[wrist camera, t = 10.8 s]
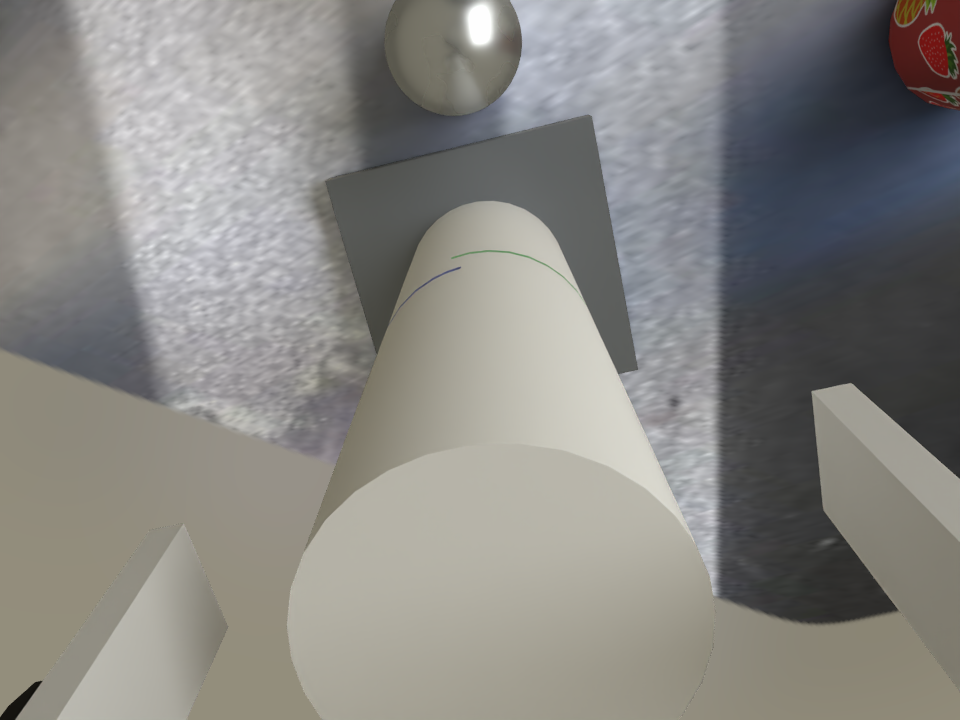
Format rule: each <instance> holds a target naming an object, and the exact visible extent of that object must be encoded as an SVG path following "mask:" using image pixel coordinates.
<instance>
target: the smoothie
mask: <svg viewBox="0 0 960 720" xmlns="http://www.w3.org/2000/svg"><path fill="white" fill-rule="evenodd" d="M889 45H890V50H891V54H892V58H893V62H894V66H895V69H896V71H897V73H898V74H899V76H900V77H901V79H902V80H903V82H904V84H905V85H906V87H907V88H908V89H909V90H910V91H911V92H913V93H914V94H916V95H917V96H918V97H920V98H921V99H923V100H924V101H925V102H927V103H930V104H934V105H937V106H941V107H945V108H949V109H955V110H960V0H897V3H896V6H895V8H894V11H893V14H892V16H891V19H890V30H889Z"/></svg>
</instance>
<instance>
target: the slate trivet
mask: <svg viewBox="0 0 960 720" xmlns="http://www.w3.org/2000/svg"><path fill="white" fill-rule="evenodd" d="M325 182H326V185H327V189H328V192H329V195H330V199H331V202H332V205H333V209H334V212H335V216H336V219H337V222H338V226H339V229H340V232H341V236H342V239H343V242H344V246H345V249H346V252H347V256H348V259H349V263H350V266H351V269H352V273H353V276H354V279H355V283H356V286H357V289H358V293H359V296H360V299H361V303H362V306H363V310H364V313H365V316H366V320H367V323H368V326H369V330H370V333H371V336H372V340H373V343H374V346H375V350H376V353H377V354H378V351H379V349H380V346H381V343H382V341H383V338H384V335H385V333H386V330H387V328H388V325H389V322H390V319H391V317H392V314H393V311H394V308H395V306H396V303H397V300H398V297H399V294H400V292H401V289H402V286H403V283H404V281H405V278H406V276H407V273H408V270H409V268H410V265H411V263H412V260H413V257H414V255H415V252H416V250H417V247H418V244H419V243H420V241H421V239H422V238H423V236H424V235H425V233H426V231H427V230H428V229H429V228H430V227H431V226H432V225H433V224H434V223H435V222H436V221H437V220H438V219H439V218H440V217H442V216H443V215H445V214H446V213H447V212H449V211H451V210H453V209H455V208H457V207H459V206H462V205H465V204H469V203H473V202H477V201H498V202H504V203H510V204H512V205H515V206H517V207H520V208H523V209H525V210H527V211H528V212H530V213H531V214H533V215H534V216H536V217H537V218H539V219H540V220H541V221H542V222H543V223H544V224H545V225H546V226H547V227H548V228H549V230H550V231H551V233H552V234H553V236H554V237H555V239H556V240H557V242H558V244H559V246H560V249H561V251H562V253H563V255H564V257H565V259H566V262H567V264H568V266H569V268H570V270H571V273H572V275H573V277H574V279H575V281H576V283H577V286H578V288H579V290H580V292H581V294H582V297H583V299H584V301H585V303H586V305H587V308H588V310H589V312H590V314H591V316H592V318H593V321H594V323H595V325H596V327H597V329H598V332H599V334H600V336H601V338H602V340H603V343H604V345H605V347H606V349H607V351H608V353H609V356H610V358H611V360H612V362H613V364H614V367H615V369H616V371H617V373H618V374H620V373H625V372H629V371H634V370H638V367H637V362H636V356H635V351H634V345H633V340H632V334H631V329H630V323H629V318H628V312H627V307H626V301H625V296H624V290H623V285H622V279H621V274H620V268H619V263H618V258H617V252H616V247H615V241H614V236H613V230H612V225H611V219H610V214H609V208H608V203H607V197H606V192H605V186H604V181H603V175H602V170H601V164H600V159H599V154H598V148H597V143H596V137H595V132H594V126H593V121H592V116H590V115H584V116H580V117H576V118H572V119H568V120H564V121H560V122H556V123H552V124H548V125H544V126H540V127H536V128H532V129H528V130H523V131H519V132H515V133H511V134H507V135H503V136H499V137H495V138H491V139H487V140H483V141H479V142H475V143H471V144H466V145H462V146H458V147H454V148H450V149H446V150H442V151H438V152H434V153H430V154H426V155H422V156H418V157H414V158H410V159H405V160H401V161H397V162H393V163H389V164H385V165H381V166H377V167H373V168H369V169H365V170H361V171H357V172H353V173H349V174H344V175H340V176H336V177H332V178H329V179H328V180H327V181H325Z"/></svg>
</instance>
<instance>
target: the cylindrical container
mask: <svg viewBox="0 0 960 720" xmlns="http://www.w3.org/2000/svg"><path fill="white" fill-rule="evenodd" d="M715 614H716V610H715V605H714V599H713V593H712V587H711V582H710V576H709V574H708V572H707V569H706V567H705V565H704V562H703V560H702V558H701V555H700V553H699V551H698V548H697V546H696V544H695V541H694V539H693V537H692V535H691V533H690V531H689V528H688V526H687V524H686V522H685V520H684V517H683V515H682V513H681V511H680V509H679V506H678V504H677V502H676V500H675V498H674V496H673V493H672V491H671V489H670V487H669V485H668V482H667V480H666V478H665V476H664V474H663V471H662V469H661V467H660V465H659V463H658V461H657V458H656V456H655V454H654V452H653V450H652V447H651V445H650V443H649V441H648V439H647V437H646V434H645V432H644V430H643V428H642V426H641V423H640V421H639V419H638V417H637V415H636V412H635V410H634V408H633V406H632V404H631V402H630V399H629V397H628V395H627V393H626V391H625V388H624V386H623V384H622V382H621V380H620V377H619V375H618V373H617V371H616V369H615V367H614V364H613V362H612V360H611V358H610V356H609V353H608V351H607V349H606V347H605V345H604V343H603V340H602V338H601V336H600V334H599V332H598V329H597V327H596V325H595V323H594V321H593V318H592V316H591V314H590V312H589V310H588V308H587V305H586V303H585V301H584V299H583V297H582V294H581V292H580V290H579V288H578V286H577V283H576V281H575V279H574V277H573V275H572V273H571V270H570V268H569V266H568V264H567V262H566V259H565V257H564V255H563V253H562V251H561V249H560V246H559V244H558V242H557V240H556V239H555V237H554V236H553V234H552V233H551V231H550V230H549V228H548V227H547V226H546V225H545V224H544V223H543V222H542V221H541V220H540V219H539V218H537V217H536V216H534V215H533V214H531V213H530V212H528V211H527V210H525V209H523V208H520V207H517V206H515V205H512V204H510V203H504V202H498V201H477V202H473V203H469V204H465V205H462V206H459V207H457V208H455V209H453V210H451V211H449V212H447V213H446V214H445V215H443V216H442V217H440V218H439V219H438V220H437V221H436V222H435V223H434V224H433V225H432V226H431V227H430V228H429V229H428V230H427V231H426V233H425V235H424V236H423V238H422V239H421V241H420V243H419V244H418V247H417V250H416V252H415V255H414V257H413V260H412V263H411V265H410V268H409V270H408V273H407V276H406V278H405V281H404V283H403V286H402V289H401V292H400V294H399V297H398V300H397V303H396V306H395V308H394V311H393V314H392V317H391V319H390V322H389V325H388V328H387V330H386V333H385V335H384V338H383V341H382V343H381V346H380V349H379V351H378V354H377V356H376V359H375V362H374V364H373V367H372V370H371V372H370V375H369V377H368V380H367V383H366V385H365V388H364V391H363V393H362V396H361V399H360V401H359V404H358V406H357V409H356V412H355V414H354V417H353V420H352V422H351V425H350V428H349V431H348V433H347V436H346V439H345V441H344V444H343V447H342V450H341V452H340V455H339V458H338V461H337V463H336V466H335V469H334V471H333V474H332V477H331V480H330V482H329V485H328V488H327V490H326V493H325V496H324V499H323V502H322V504H321V507H320V510H319V512H318V515H317V518H316V521H315V523H314V526H313V529H312V531H311V534H310V537H309V540H308V542H307V545H306V548H305V550H304V553H303V556H302V559H301V561H300V564H299V567H298V570H297V573H296V576H295V578H294V581H293V584H292V586H291V589H290V599H289V609H288V619H287V631H288V638H289V645H290V651H291V658H292V663H293V665H294V668H295V670H296V673H297V675H298V678H299V680H300V683H301V685H302V688H303V690H304V693H305V695H306V696H307V697H308V699H309V701H310V702H311V704H312V705H313V707H314V708H315V710H316V711H317V713H318V714H319V716H320V717H321V719H322V720H678V719H679V718H680V717H681V716H682V715H683V714H684V712H685V710H686V709H687V707H688V705H689V704H690V702H691V700H692V699H693V697H694V695H695V693H696V692H697V690H698V689H699V687H700V685H701V683H702V681H703V678H704V675H705V672H706V669H707V666H708V663H709V659H710V656H711V653H712V650H713V645H714V630H715V629H714V628H715Z"/></svg>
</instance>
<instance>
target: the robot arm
mask: <svg viewBox="0 0 960 720" xmlns="http://www.w3.org/2000/svg"><path fill="white" fill-rule="evenodd" d="M812 400H813V410H814V420H815V430H816V440H817V450H818V460H819V470H820V480H821V490H822V501H823V510H824V511H825V513H826V514H827V515H828V517H829V518H830V519H831V521H832V522H833V523H834V525H835V526H836V527H837V529H838V530H839V531H840V533H841V534H842V535H843V537H844V538H845V539H846V541H847V542H848V543H849V545H850V546H851V547H852V549H853V550H854V551H855V553H856V554H857V555H858V557H859V558H860V559H861V561H862V562H863V563H864V565H865V566H866V567H867V569H868V570H869V571H870V573H871V574H872V575H873V577H874V578H875V579H876V581H877V582H878V583H879V585H880V586H881V587H882V589H883V590H884V591H885V593H886V594H887V595H888V597H889V598H890V599H891V601H892V602H893V603H894V605H895V606H896V607H897V609H898V610H899V611H900V613H901V614H902V615H903V617H904V618H905V619H906V620H907V622H908V623H909V625H910V626H911V627H912V629H913V630H914V631H915V632H916V634H917V635H918V636H919V638H920V639H921V641H922V642H923V643H924V644H925V646H926V647H927V648H928V650H929V651H930V653H931V654H932V655H933V656H934V658H935V659H936V660H937V662H938V663H939V664H940V666H941V667H942V668H943V670H944V671H945V672H946V674H947V675H948V676H949V678H950V679H951V680H952V682H953V683H954V684H955V686H956V687H957V688H958V690H959V691H960V479H959V478H958V477H957V476H955V475H954V474H953V473H952V472H951V471H950V470H949V469H948V468H946V467H945V466H944V465H943V464H942V463H941V462H940V461H939V460H937V459H936V458H935V457H934V456H933V455H932V454H931V453H929V452H928V451H927V450H926V449H925V448H924V447H923V446H922V445H920V444H919V443H918V442H917V441H916V440H915V439H914V438H913V437H911V436H910V435H909V434H908V433H907V432H906V431H905V430H903V429H902V428H901V427H900V426H899V425H898V424H897V423H896V422H894V421H893V420H892V419H891V418H890V417H889V416H888V415H887V414H885V413H884V412H883V411H882V410H881V409H880V408H879V407H878V406H876V405H875V404H874V403H873V402H872V401H871V400H870V399H868V398H867V397H866V396H865V395H864V394H863V393H862V392H861V391H859V390H858V389H857V388H856V387H855V386H854V385H853V384H852V383H849V384H844V385H839V386H835V387H830V388H825V389H820V390H816V391H812ZM227 629H228V626H227V623H226V621H225V618H224V616H223V614H222V611H221V609H220V607H219V604H218V602H217V600H216V597H215V595H214V593H213V590H212V588H211V585H210V583H209V581H208V579H207V576H206V574H205V571H204V569H203V567H202V564H201V562H200V560H199V557H198V555H197V553H196V550H195V548H194V546H193V543H192V541H191V539H190V536H189V534H188V531H187V530H186V527H185V525H184V523H182V524H176V525H172V526H167V527H162V528H158V529H153V530H150V531H149V532H148V533H147V535H146V536H145V538H144V539H143V540H142V542H141V543H140V545H139V546H138V547H137V549H136V550H135V552H134V553H133V555H132V556H131V557H130V559H129V560H128V562H127V563H126V564H125V566H124V567H123V569H122V570H121V571H120V573H119V574H118V576H117V577H116V579H115V580H114V581H113V583H112V584H111V586H110V587H109V588H108V590H107V591H106V593H105V594H104V595H103V597H102V598H101V600H100V601H99V603H98V604H97V605H96V607H95V608H94V610H93V611H92V612H91V614H90V615H89V617H88V618H87V619H86V621H85V622H84V624H83V625H82V626H81V628H80V629H79V631H78V632H77V634H76V635H75V636H74V638H73V639H72V641H71V642H70V643H69V645H68V646H67V648H66V649H65V651H64V652H63V653H62V655H61V656H60V657H59V659H58V660H57V662H56V663H55V665H54V666H53V667H52V669H51V670H50V672H49V673H48V674H47V676H46V677H45V679H44V680H43V681H39V682H35V683H34V684H33V685H32V686H30V687H29V688H28V689H27V690H26V691H25V692H24V693H23V694H21V695H20V696H19V697H18V698H17V699H16V700H15V701H14V702H13V703H11V704H10V705H9V706H8V707H7V709H6V710H5V711H4V713H3V714H2V716H1V717H0V720H187V717H188V715H189V713H190V711H191V708H192V706H193V704H194V702H195V700H196V697H197V695H198V693H199V691H200V689H201V686H202V684H203V682H204V680H205V677H206V675H207V673H208V671H209V669H210V666H211V664H212V662H213V660H214V657H215V655H216V653H217V651H218V649H219V646H220V644H221V642H222V640H223V637H224V635H225V633H226V631H227Z"/></svg>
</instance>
